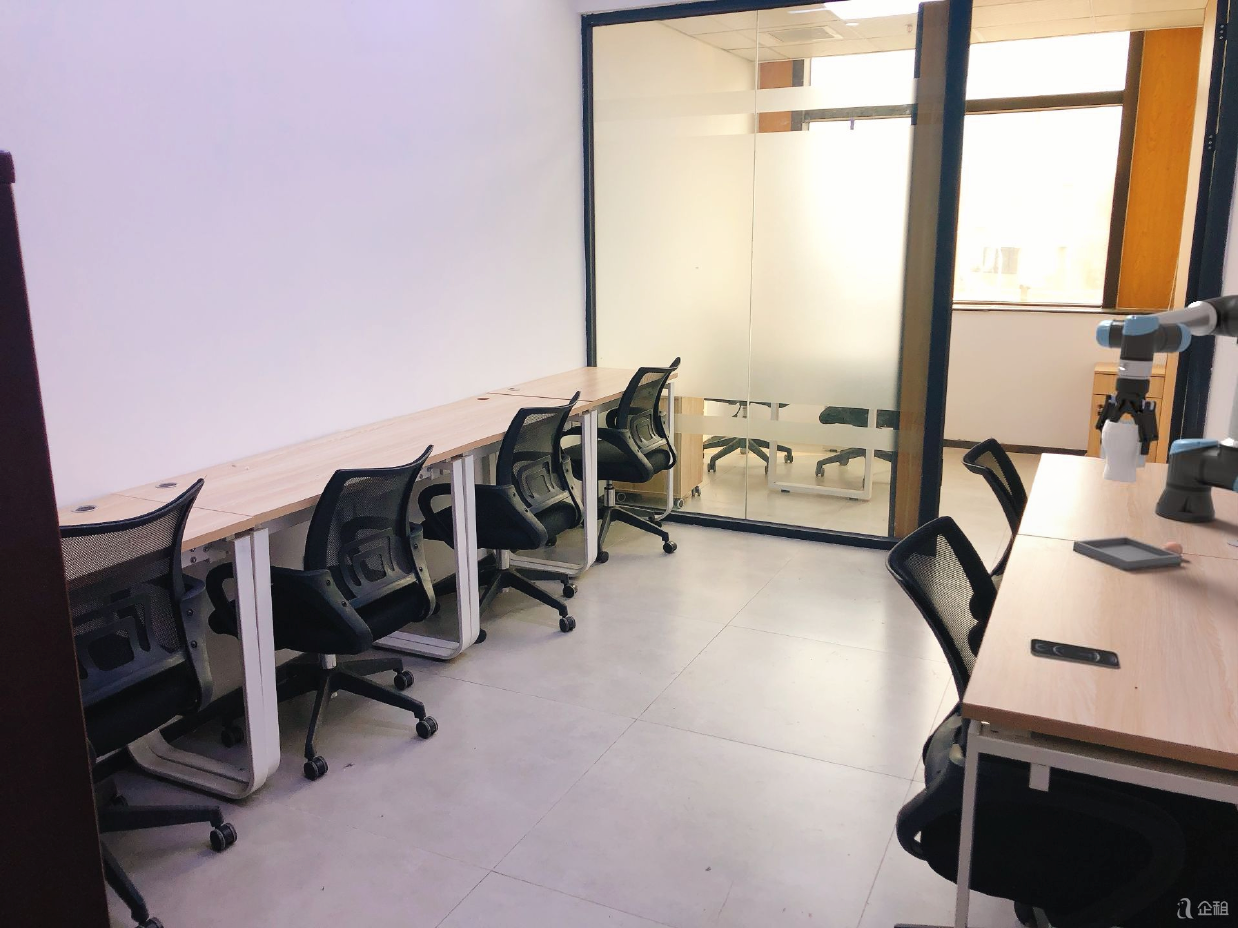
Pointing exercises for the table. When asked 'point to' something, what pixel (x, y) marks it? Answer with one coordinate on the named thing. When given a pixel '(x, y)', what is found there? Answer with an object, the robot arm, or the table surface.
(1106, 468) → the cup
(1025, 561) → the table surface
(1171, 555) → the tray
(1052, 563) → the table surface
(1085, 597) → the table surface
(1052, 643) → the smartphone
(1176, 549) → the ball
